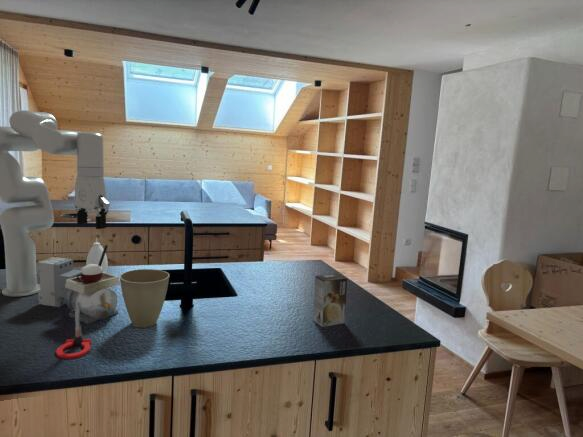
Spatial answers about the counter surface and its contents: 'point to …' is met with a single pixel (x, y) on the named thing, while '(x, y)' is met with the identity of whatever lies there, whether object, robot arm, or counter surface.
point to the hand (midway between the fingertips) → (91, 226)
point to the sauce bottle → (97, 256)
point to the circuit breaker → (55, 280)
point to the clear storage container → (92, 298)
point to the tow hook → (75, 340)
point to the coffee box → (330, 299)
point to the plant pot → (144, 295)
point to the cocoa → (92, 271)
